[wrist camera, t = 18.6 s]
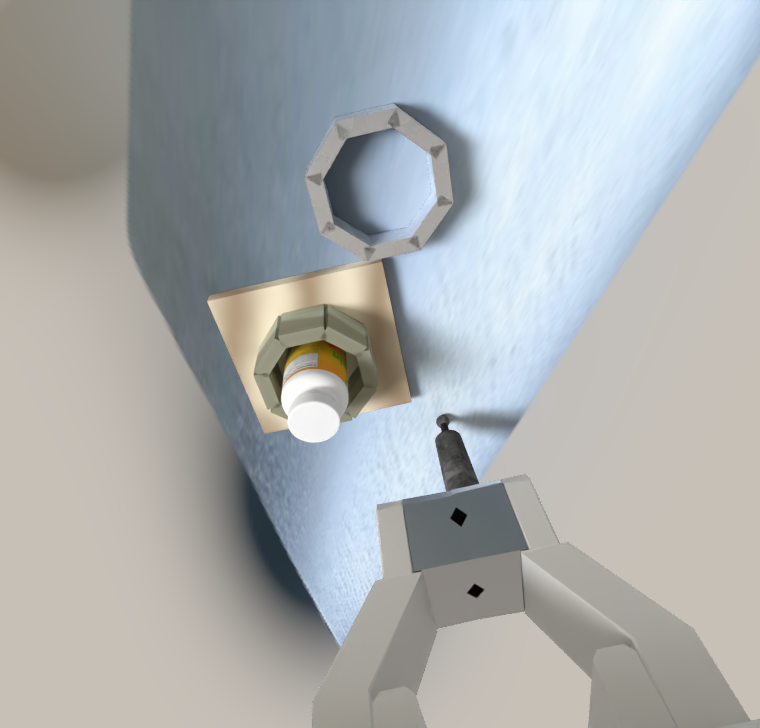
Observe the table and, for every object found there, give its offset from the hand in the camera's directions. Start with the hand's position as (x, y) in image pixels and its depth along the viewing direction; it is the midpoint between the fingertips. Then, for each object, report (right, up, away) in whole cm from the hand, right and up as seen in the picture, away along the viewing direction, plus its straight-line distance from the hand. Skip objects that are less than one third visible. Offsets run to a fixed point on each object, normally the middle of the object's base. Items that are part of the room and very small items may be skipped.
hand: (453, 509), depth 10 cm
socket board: (-7, +4, +37) cm, 38 cm away
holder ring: (-2, +17, +30) cm, 34 cm away
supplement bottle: (-7, +4, +36) cm, 37 cm away
